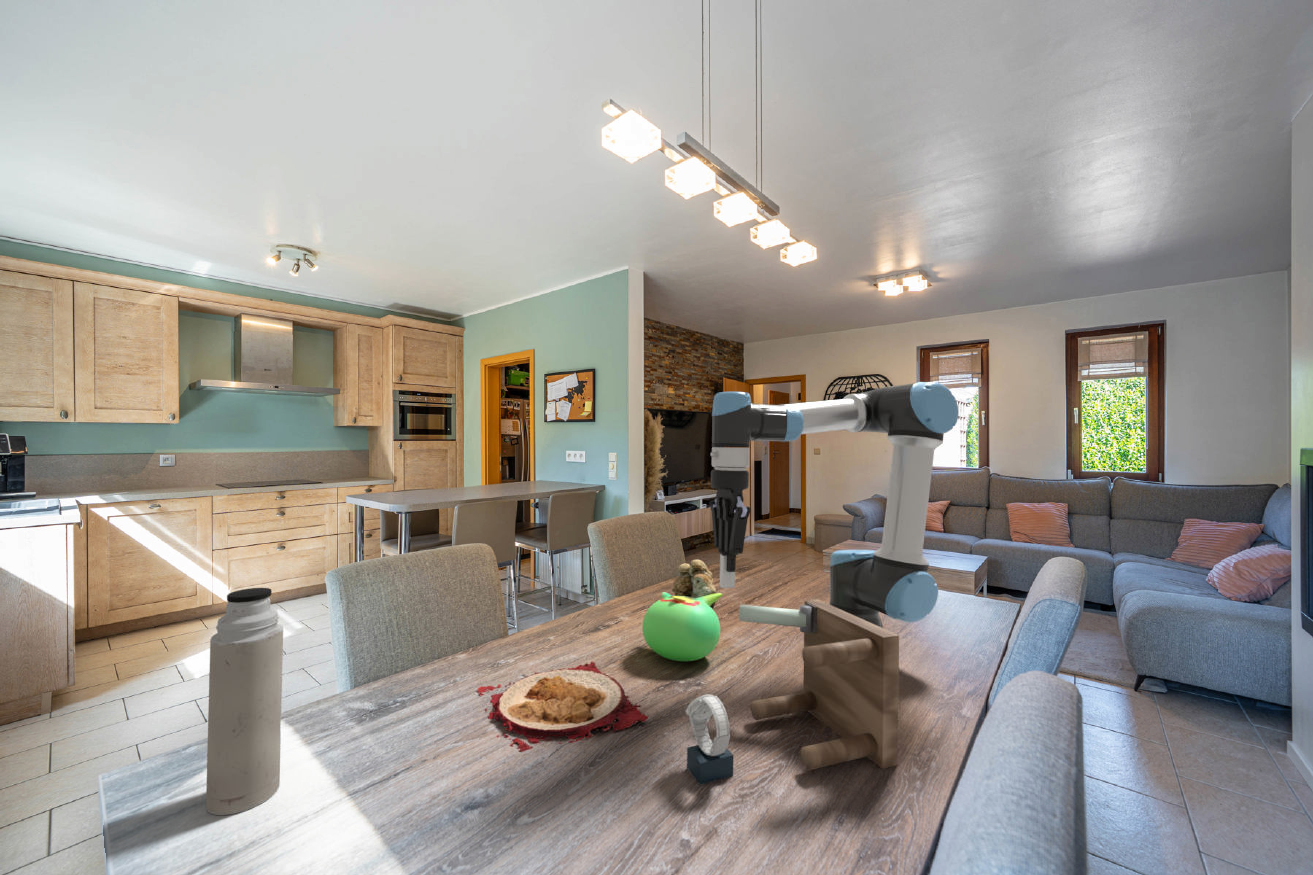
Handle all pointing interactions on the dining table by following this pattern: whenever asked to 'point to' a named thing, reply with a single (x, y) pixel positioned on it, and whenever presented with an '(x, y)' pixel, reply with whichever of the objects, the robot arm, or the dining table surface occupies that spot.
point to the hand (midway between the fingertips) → (727, 586)
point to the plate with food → (563, 705)
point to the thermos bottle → (244, 704)
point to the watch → (709, 741)
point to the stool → (845, 688)
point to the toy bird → (682, 627)
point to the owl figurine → (694, 581)
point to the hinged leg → (778, 616)
